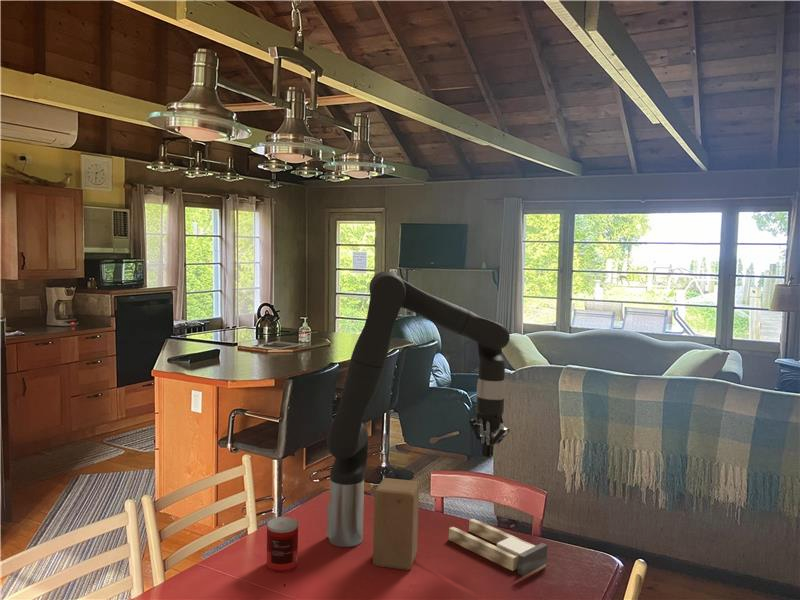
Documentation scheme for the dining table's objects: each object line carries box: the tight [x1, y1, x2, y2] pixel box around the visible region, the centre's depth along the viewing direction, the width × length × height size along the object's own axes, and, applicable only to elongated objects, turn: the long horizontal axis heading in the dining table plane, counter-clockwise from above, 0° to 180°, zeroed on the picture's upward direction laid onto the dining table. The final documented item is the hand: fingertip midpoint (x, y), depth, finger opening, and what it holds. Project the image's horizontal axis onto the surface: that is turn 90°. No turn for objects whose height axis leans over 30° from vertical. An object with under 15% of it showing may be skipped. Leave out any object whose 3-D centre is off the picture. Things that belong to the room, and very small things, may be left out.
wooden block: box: [372, 477, 420, 571], centre depth 164 cm, size 10×10×20 cm
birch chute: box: [448, 518, 548, 579], centre depth 170 cm, size 26×10×6 cm, turn 43°
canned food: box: [266, 516, 299, 574], centre depth 160 cm, size 8×8×11 cm
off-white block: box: [496, 537, 534, 569], centre depth 164 cm, size 8×6×4 cm
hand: (487, 457), depth 174 cm, fingers closed
